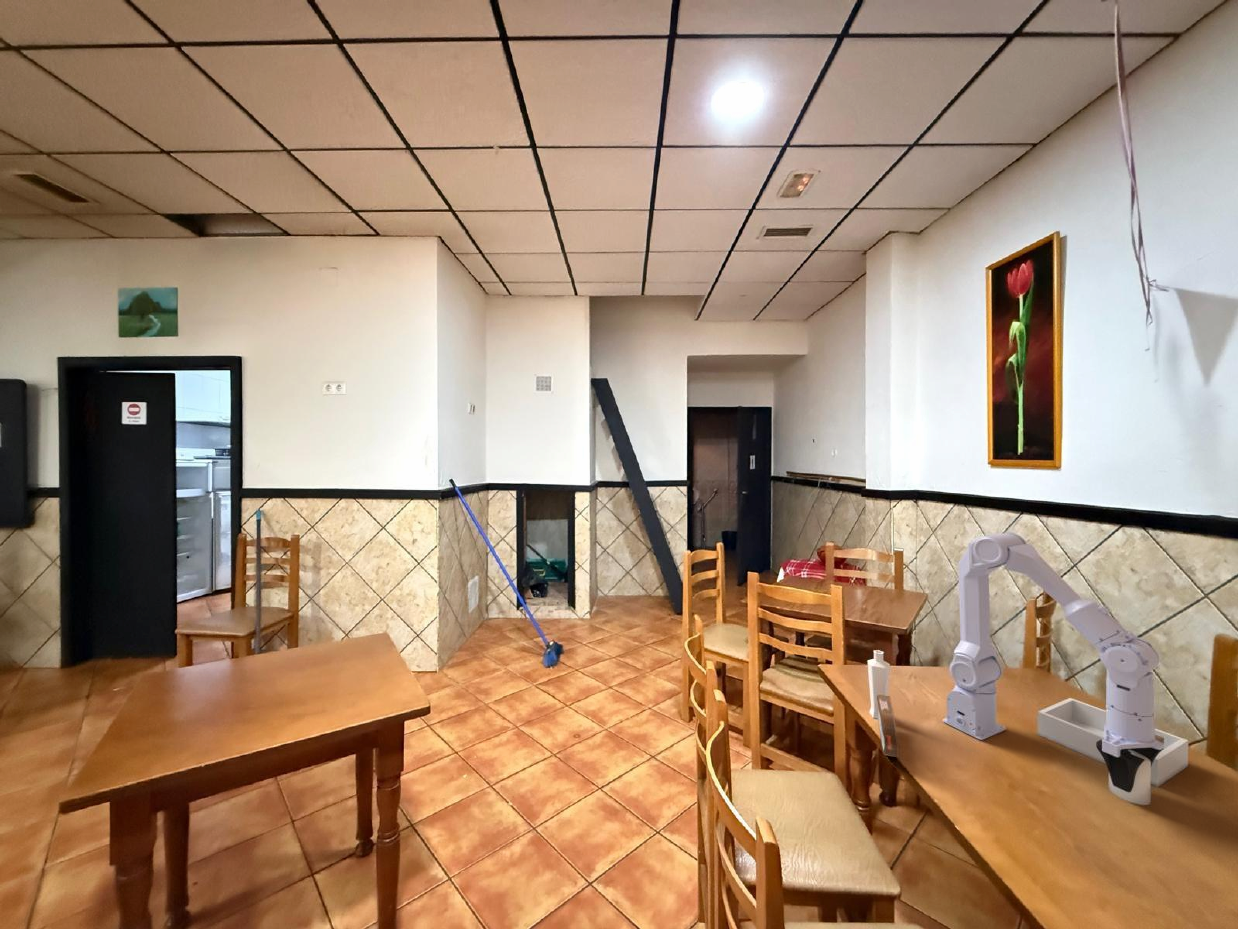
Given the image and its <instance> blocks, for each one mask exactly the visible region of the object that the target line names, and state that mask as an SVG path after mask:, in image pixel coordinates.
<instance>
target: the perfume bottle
mask: <svg viewBox="0 0 1238 929" xmlns="http://www.w3.org/2000/svg"><path fill="white" fill-rule="evenodd" d="M884 653H885V652H884V651H881V650H879V649H878V650H873V658H872V659H869V660H867V670H868V671H867V672H868V685H869V698H870V706H871V707H870V710H869V714H870V716H871V718H873V719H877V720H879V719H878V712H879V709H878V701H877V695H885V696H889V695H888V694H889V682H890V666H891V665H890V663H888V662H886V661H885V660H884Z"/></svg>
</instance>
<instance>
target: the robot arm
mask: <svg viewBox="0 0 1238 929" xmlns="http://www.w3.org/2000/svg"><path fill="white" fill-rule="evenodd" d="M967 545H968V548H967V549H966V551H965V552H964V553H963V555H962V556H961V558H960V560H959V561H958V566H957V567H958V595H959V596H958V599H959V600H958V601H959V629H960V633H959V634H960V641H959V643H958V645H957V646H956V647H955V649H954V650H953V659H952V661H951V662H950V664H949V667H948V668H949V673H950V676H951V678H952V679H953V681H954V682H955V685H954V687H953V689H952V690H951V691H950V692H949V693H948V694H947V695H946V717H945V718H943V719H942V722H943V723H945V724H947V725H949V726H951V727H953V728H955V729H957V730H959V731H961V732H963V733H965V734H967V735H969V736H971V737H974V738H976V739H977V740H980V741H983V740H986V739H987V738H989V737H992V736H995V735H997V734H998V733H1001V732H1004V731H1006V730H1007V727H1005V726H1004V725H1002V724H999V723H998V722H997V685H996V684H997V681H999V679H1001V677H1002V676H1003V667H1002V665H1001V663H1000V660H999V658H998V652H997V650H996V648H995V647H994V646H993V645H992V644H991V612H990V610H991V609H990V606H991V605H990V582H989V581H990V580H989V579H990V577H989V576H990V574H991V573H993V572H994V571H995V570H997V569H999V568H1001V567H1002V566H1004V567H1003V570H1007V571H1009V572H1010V571H1011V572H1015V573H1018V574H1023V575H1025V576H1027V577H1029V579H1030V580H1032V582H1034V583H1035V584H1036V585H1037V586H1038V587H1039V588H1040V589H1041V590H1043V591H1044V592H1045V593H1046V594H1047V595H1049V597H1051V598H1052V599H1053V600H1054V601H1055V602H1057V603H1058V605H1060V606H1061V607H1062V609H1063V617H1064V619H1065V620H1066V621H1067V622H1068V623H1069V624H1071V626H1072V627H1073V628H1074V629H1075V630H1076V631H1077V632H1078V633H1079V634H1080V635H1082V637H1083V638H1084V639H1086V641H1088V643H1090V644H1091V646H1093V647H1094V648H1095V649H1096V650H1097V651H1099V652H1100V653H1099V659H1100V662H1101V663H1102V665H1103V666H1104V667H1105V669H1106V677H1105V681H1106V682H1105V683H1106V684H1105V685H1106V686H1105V687H1106V688H1105V689H1106V690H1105V691H1106V692H1105V695H1106V696H1105V700H1106V701H1105V711H1106V724H1105V726H1104V731H1105V738H1104V739H1103V740H1099V741H1097V742H1096V747H1097V749H1098V751H1099V752H1100V753H1101V755H1102V757H1103V758H1104V760H1105V763H1106V764H1105V765H1106V767H1107V770H1108V775H1109V774H1110V777H1111V781H1112V783H1113V786H1115V787H1117V788H1120V789H1122V790H1124V791H1126V792H1128V793H1130V792H1131V790H1132V788H1133V785H1134V780H1135V775H1136V772H1137V770H1138V768H1139V766H1140V765H1141V764H1142V763H1143V762H1144V761H1145V759H1142V758H1140V757H1138V756H1135V755H1133V754H1131V752H1130V751H1129V750H1132V751H1135V752H1137V753H1139V754H1141V755H1143V756H1145V757H1147V758H1148V759H1149V760H1150V762H1151V766H1152V763H1153V761H1154V759H1155V758H1156V756H1157V755H1158V754H1159V753H1160V752H1161V751H1162V750H1163V748H1164V744H1163V743H1162V742H1159V741H1157V740H1155V729H1156V725H1155V687H1154V672H1151V671H1153V670H1154V669H1156V667H1158V665H1159V663H1160V657H1159V653H1158V652H1157V650H1156V649H1155V648H1154V647H1153V645H1152V644H1151V643H1150V642H1148V641H1147V640H1145V639H1143V638H1140V637H1138V636H1137V635H1136V634H1135V633H1134V632H1132V631H1128V630H1126V628H1125V627H1123V625H1121V623H1120V622H1118V621H1117V620H1116V619H1115V618H1114V617H1112V615H1110V613H1111V610H1110V609H1109V608H1108V607H1107V606H1106V605H1102V606H1100V604H1098V603H1097V602H1096V601H1093V600H1088V599H1084V598H1082V597H1081V596H1080V595H1079V594H1078V593H1077V592H1076V591H1075V590H1074V589H1073V588H1072V587H1071V586H1070V585H1069V584H1068V582H1066V581H1065V580H1064V578H1062V577H1061V576H1060V574H1058V573H1057V571H1055V570H1054V569H1053V567H1052V566H1051V565H1049V563H1047V562H1046V560H1045V559H1043V557H1042V556H1041V555H1040V554H1039V552H1038V551H1037V549H1036V548H1035V547H1034V546H1032V544H1030V543H1027V541H1026V540H1025V539H1024V538H1023V537H1022V536H1021V535H1019V534H1017V533H1014V532H1009V531H1008V532H1001V533H998V534H991V535H990V534H989V535H982V536H979V537H977V538H975V539H974V540H972V541H970V542H968V544H967Z"/></svg>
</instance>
